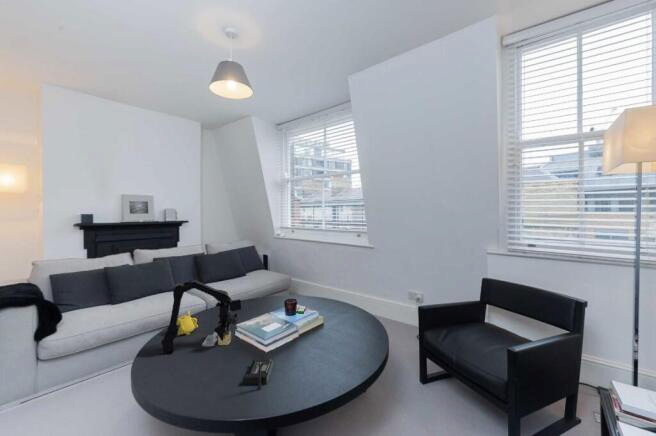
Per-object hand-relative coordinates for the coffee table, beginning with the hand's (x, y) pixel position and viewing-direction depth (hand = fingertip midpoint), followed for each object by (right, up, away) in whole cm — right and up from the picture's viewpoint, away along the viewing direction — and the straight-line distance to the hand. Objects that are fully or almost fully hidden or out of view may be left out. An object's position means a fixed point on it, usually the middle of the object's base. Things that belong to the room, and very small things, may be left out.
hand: (224, 336), depth 176 cm
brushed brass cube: (0, -4, 0) cm, 4 cm away
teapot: (-31, -4, +15) cm, 35 cm away
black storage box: (+30, -6, -35) cm, 47 cm away
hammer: (-9, -4, +4) cm, 11 cm away
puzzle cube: (+43, -2, +31) cm, 53 cm away
